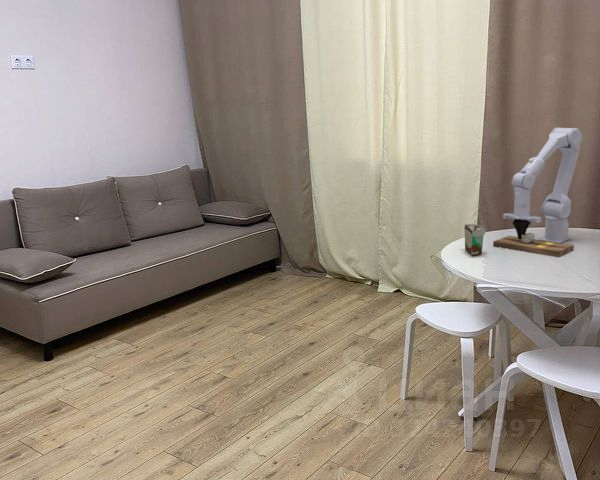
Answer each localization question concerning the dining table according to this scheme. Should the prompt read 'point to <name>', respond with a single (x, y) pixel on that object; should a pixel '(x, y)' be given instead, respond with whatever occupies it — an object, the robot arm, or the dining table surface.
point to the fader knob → (527, 237)
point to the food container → (474, 239)
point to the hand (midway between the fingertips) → (521, 238)
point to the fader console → (534, 246)
